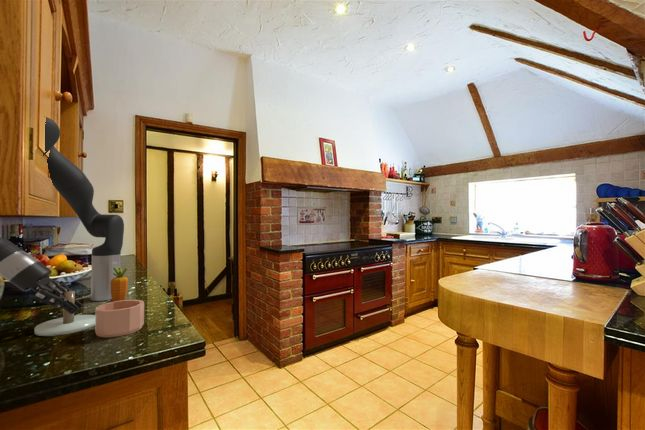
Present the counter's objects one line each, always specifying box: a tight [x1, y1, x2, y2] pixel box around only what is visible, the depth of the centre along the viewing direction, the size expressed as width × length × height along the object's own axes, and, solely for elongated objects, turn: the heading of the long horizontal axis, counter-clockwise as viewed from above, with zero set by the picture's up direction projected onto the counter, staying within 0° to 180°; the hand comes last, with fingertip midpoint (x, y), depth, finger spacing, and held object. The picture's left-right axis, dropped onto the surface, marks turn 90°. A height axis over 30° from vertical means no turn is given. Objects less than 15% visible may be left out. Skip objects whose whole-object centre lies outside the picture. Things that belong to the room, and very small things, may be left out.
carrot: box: [111, 267, 129, 302], centre depth 99 cm, size 5×5×15 cm
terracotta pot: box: [94, 299, 145, 338], centre depth 81 cm, size 11×11×7 cm
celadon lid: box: [34, 290, 95, 337], centre depth 84 cm, size 14×14×10 cm
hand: (77, 309), depth 84 cm, fingers closed on celadon lid, 2 cm apart
